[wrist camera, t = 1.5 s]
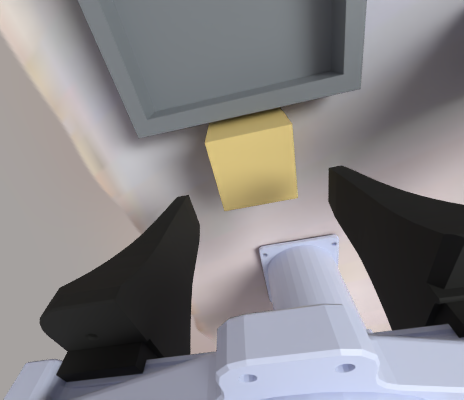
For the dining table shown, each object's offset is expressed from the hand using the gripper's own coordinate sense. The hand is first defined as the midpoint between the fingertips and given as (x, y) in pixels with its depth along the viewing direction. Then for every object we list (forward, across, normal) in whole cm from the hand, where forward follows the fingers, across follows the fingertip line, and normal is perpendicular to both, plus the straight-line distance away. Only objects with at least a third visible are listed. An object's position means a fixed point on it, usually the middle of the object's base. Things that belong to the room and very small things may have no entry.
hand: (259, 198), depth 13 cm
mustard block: (+8, 0, 0) cm, 8 cm away
